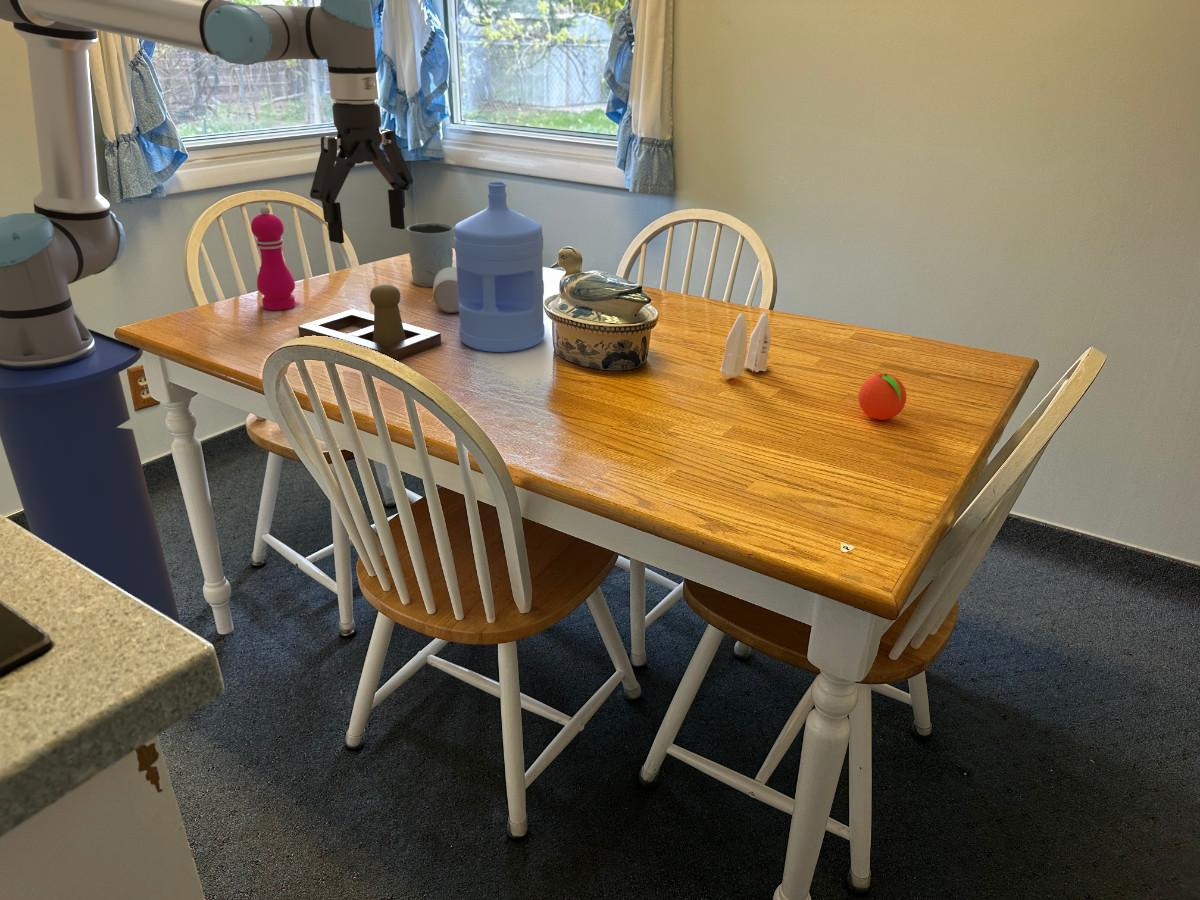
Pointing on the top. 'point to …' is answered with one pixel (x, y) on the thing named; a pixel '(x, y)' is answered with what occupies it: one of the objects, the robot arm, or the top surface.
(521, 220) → the water jug
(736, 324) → the shaker set
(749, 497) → the top surface
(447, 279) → the ceramic mug
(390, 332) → the olive peg shaker
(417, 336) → the holder
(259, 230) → the pepper mill
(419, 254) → the grey tapered cup
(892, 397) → the clementine
